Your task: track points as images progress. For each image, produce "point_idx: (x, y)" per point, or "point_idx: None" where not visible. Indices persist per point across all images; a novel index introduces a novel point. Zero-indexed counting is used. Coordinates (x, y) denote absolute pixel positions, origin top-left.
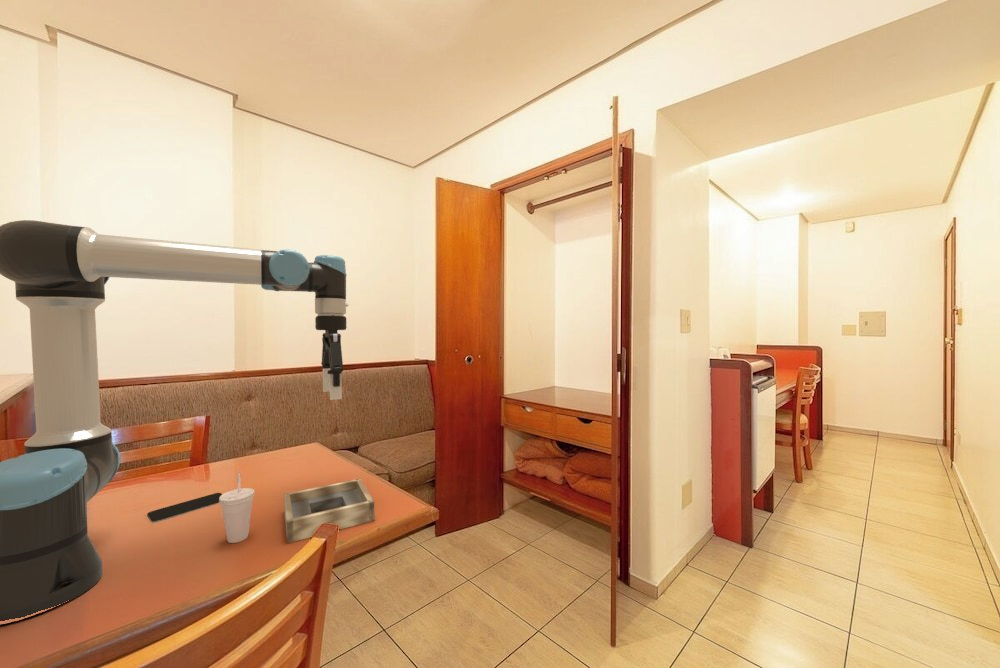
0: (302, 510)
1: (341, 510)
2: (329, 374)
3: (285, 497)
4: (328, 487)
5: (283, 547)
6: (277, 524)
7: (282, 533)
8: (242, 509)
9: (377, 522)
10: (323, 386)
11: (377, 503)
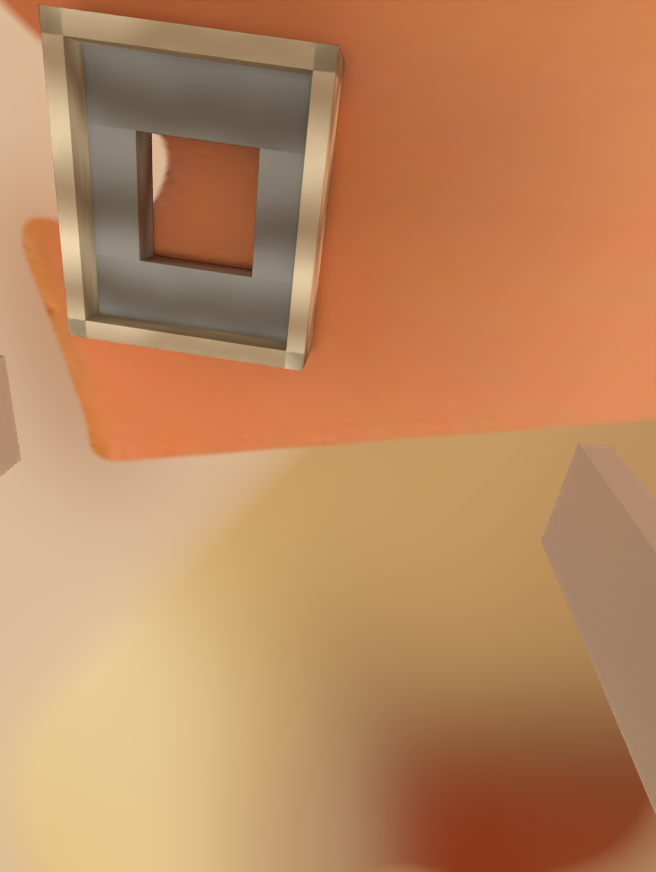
0: (210, 108)
1: (61, 221)
2: (641, 682)
3: (293, 45)
4: (297, 242)
5: None
6: (249, 15)
7: None
8: None
9: None
10: (604, 483)
11: (210, 370)
